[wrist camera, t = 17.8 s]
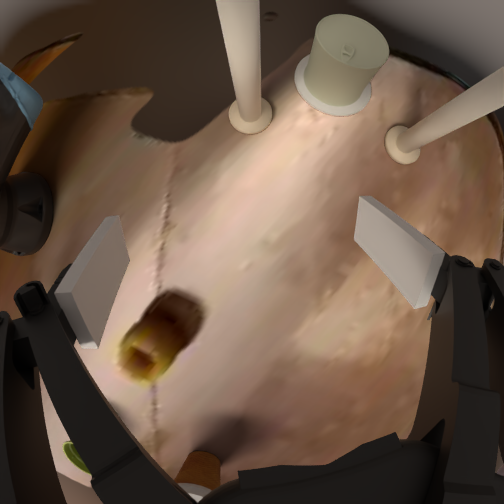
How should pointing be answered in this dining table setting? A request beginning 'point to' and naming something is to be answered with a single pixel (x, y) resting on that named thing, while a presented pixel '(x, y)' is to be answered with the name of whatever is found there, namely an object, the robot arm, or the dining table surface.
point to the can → (344, 59)
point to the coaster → (322, 106)
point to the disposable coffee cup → (199, 474)
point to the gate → (396, 139)
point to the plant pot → (74, 456)
